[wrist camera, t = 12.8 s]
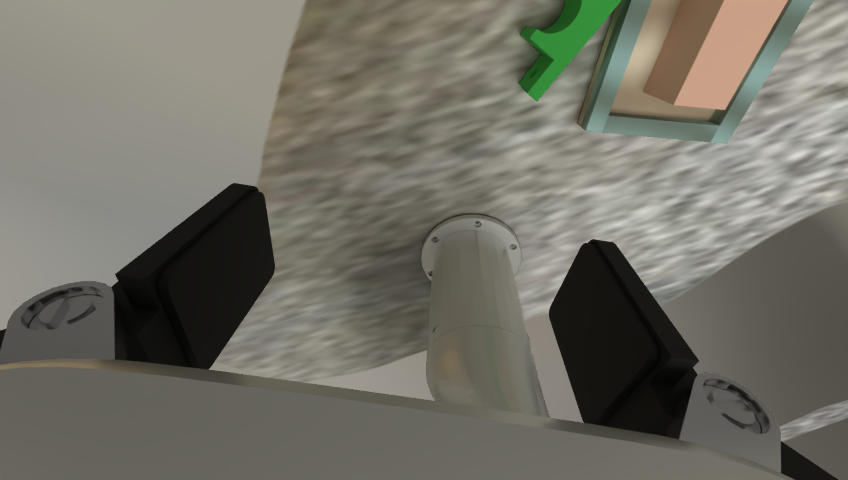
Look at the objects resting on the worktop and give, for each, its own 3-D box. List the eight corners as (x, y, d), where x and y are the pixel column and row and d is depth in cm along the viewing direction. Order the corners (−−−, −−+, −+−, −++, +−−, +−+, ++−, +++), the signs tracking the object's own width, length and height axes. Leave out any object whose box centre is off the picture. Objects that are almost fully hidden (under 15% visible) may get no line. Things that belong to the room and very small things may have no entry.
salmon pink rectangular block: (760, -51, 24) (823, -63, 20) (687, 96, 30) (724, 109, 26) (705, -55, 24) (757, -69, 20) (642, 91, 30) (673, 105, 26)
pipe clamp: (595, -72, 25) (622, -87, 21) (628, -36, 26) (659, -44, 22) (496, 66, 30) (503, 74, 27) (526, 91, 32) (537, 101, 28)
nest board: (709, 135, 33) (726, 143, 30) (577, 123, 33) (585, 131, 31) (849, -112, 23) (888, -123, 21) (659, -126, 23) (680, -140, 21)
